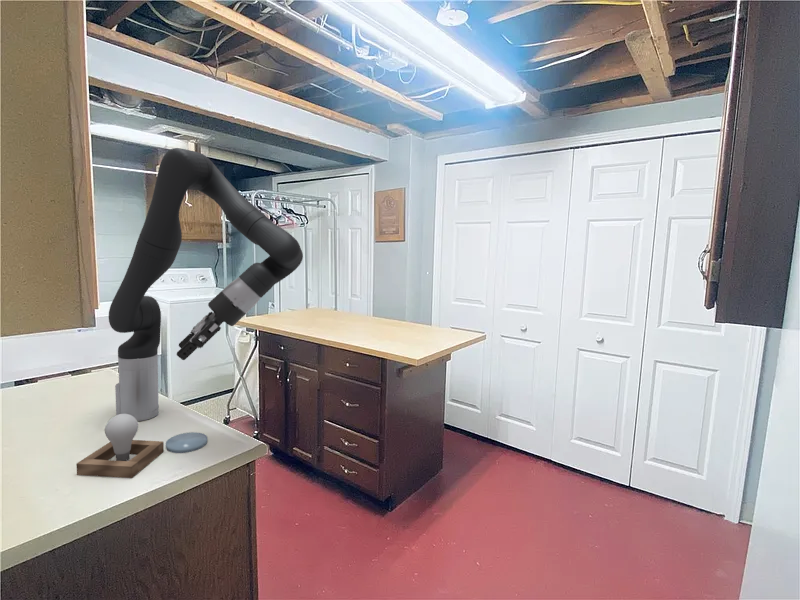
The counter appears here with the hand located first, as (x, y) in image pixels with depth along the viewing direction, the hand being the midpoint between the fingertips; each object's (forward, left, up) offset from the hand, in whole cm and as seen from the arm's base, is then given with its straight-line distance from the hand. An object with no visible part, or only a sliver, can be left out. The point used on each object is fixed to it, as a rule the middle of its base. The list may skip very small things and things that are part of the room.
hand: (180, 352), depth 96 cm
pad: (-1, +5, -24) cm, 25 cm away
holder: (-10, -5, -24) cm, 27 cm away
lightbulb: (-10, -5, -24) cm, 27 cm away
